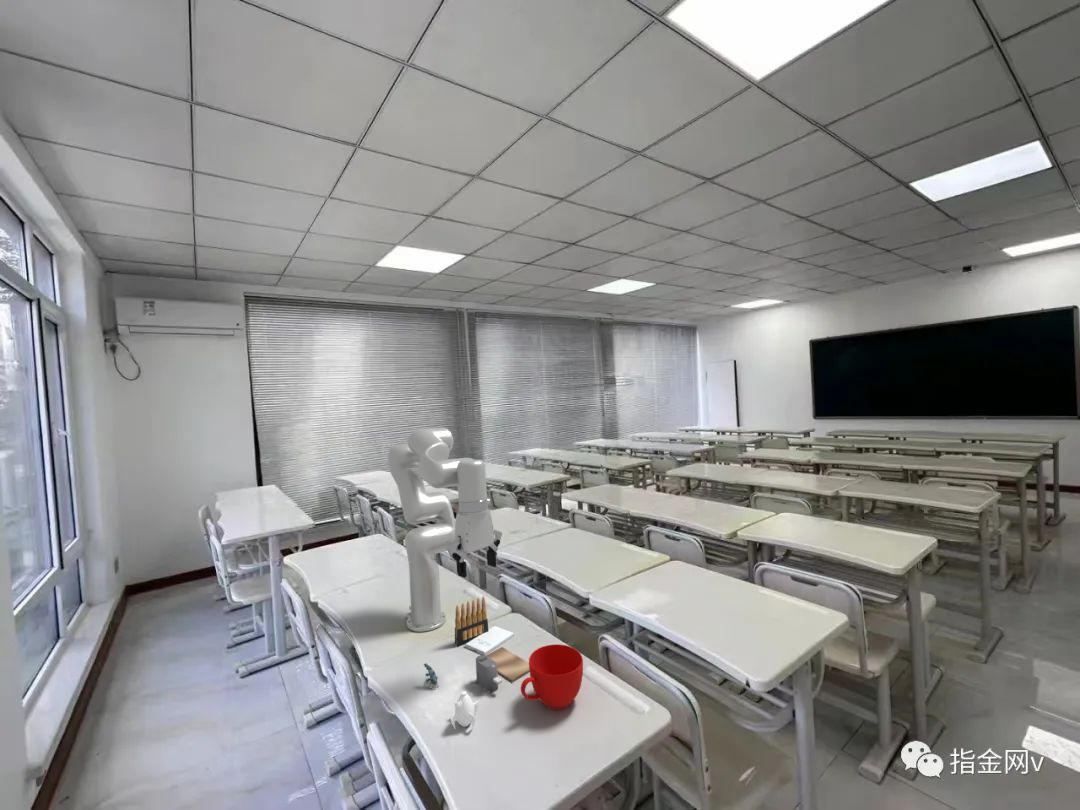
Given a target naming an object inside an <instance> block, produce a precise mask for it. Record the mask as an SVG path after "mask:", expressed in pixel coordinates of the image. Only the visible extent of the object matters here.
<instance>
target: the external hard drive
mask: <svg viewBox="0 0 1080 810" xmlns="http://www.w3.org/2000/svg"><path fill="white" fill-rule="evenodd" d="M488 630H489V631H488V632H486V633H483V634H481V635H479V636H478V637H476V638H474V639H473V640H471V641H470V642H468V643H466V644H464V645H465V646H464V647H465V648H466V649H469V650H470V651H474V652H476V653H478V654H480V655H485V656H486V655H488V654H490V653H492V652H494V651H495V650H497V649H498V648H499V647H501V646H502V645H504V644H505V643H506V642H508V641H510V640H511V639H512V638H514V636H515V635H514V633H513V631H509V630H507V629H504V628H502V627H499V626H496V625H493V626H492V627H491V628H488Z"/></svg>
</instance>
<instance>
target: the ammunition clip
mask: <svg viewBox="0 0 1080 810" xmlns="http://www.w3.org/2000/svg"><path fill="white" fill-rule="evenodd" d="M476 600H477V601H476V602H475V599H472V601H471V604H470V601H468V600H467V603H466V607H465V604H464V602H462V603H461V606H459V604H457V605H456V607H455V618H454V622H455V624H454V625H455V627H454V645H455V646H456V647H457V648H459V647H461V646H464V645H465V644H466V643H468V642H470V641H471V640H473V639H474V638H476V637H478V636H479V635H481V634H483V633H486V632H488V631H489V621H488V614H487V605H486V603H487V602H486V599H485V595H484V596H482V599H481V600H480V598H479V597H478V598H477V599H476ZM460 607H461V609H460Z"/></svg>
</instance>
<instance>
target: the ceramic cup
mask: <svg viewBox="0 0 1080 810" xmlns="http://www.w3.org/2000/svg"><path fill="white" fill-rule="evenodd" d="M583 659H584V658H583V656H582V654H581V652H580V651H579V650H577V649H576V648H574V647H572V646H569V645H567V644H566V645H565V644H549V645H548V644H547V645H543V646H541V647H539V648H537V649H535V650H534V651H533V652H531V654H530V656H529V658H528V663H529V670H530V672H529V677H526V678H525V679H523V681H522V682H521V684H520V693H521V696H523V697H524V698H525V699H526V700H528V701H529V700H530V701H535V700H540V701H541V702H542V703H543V704H544V705H545V707H547V708H549V709H551V710H556V711H557V710H564V709H566V708H567V707H569V706H570V705H571V704H572V702H573V701H574V700H575V699H576V697H577V696H578V693H579V691H580V689H581V686H582V680H583V675H584V673H583V671H584V660H583ZM530 683H531V684H532V687H533V691H534V693H535V694H532V695H531V694H529V695H528V694H527V693H526V688H527V686H528V684H530Z"/></svg>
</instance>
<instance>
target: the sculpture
mask: <svg viewBox="0 0 1080 810" xmlns="http://www.w3.org/2000/svg"><path fill="white" fill-rule="evenodd" d="M423 665H424V668H425V669H426V670H427V673H425V681H424V683H425V684H424V685H425V686H426V685H427V686H426V687H428V686H429V687H430V688H432V689H433V688H434V689H433V690H436V688H437V689H438V688H440V685H438V684H439V682H438V676H437V675H436V672H435V671H434V669H433V668H432V667H431V666H430V665H429V664H428V663H423ZM429 687H428V688H429Z"/></svg>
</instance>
